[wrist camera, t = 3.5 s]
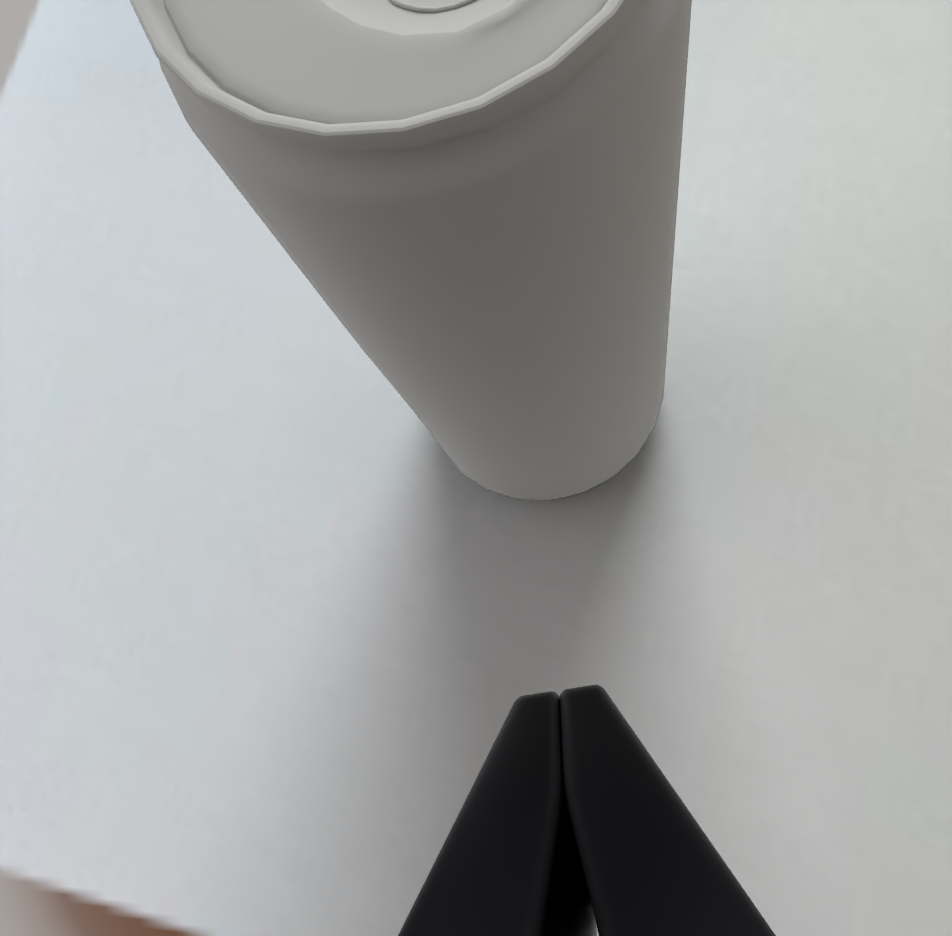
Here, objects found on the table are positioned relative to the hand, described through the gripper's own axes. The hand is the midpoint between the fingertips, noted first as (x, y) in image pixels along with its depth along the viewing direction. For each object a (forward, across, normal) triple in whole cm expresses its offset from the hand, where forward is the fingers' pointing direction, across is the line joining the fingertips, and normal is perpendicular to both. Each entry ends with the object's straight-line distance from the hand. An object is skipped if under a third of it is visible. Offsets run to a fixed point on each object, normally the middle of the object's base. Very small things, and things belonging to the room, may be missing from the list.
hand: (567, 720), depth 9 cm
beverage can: (+10, 0, +1) cm, 11 cm away
